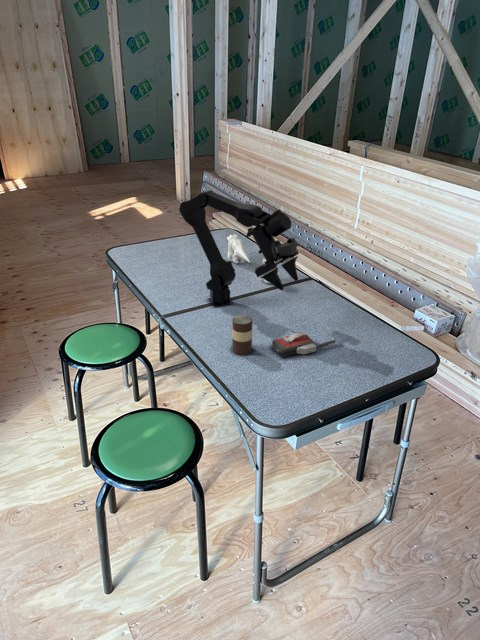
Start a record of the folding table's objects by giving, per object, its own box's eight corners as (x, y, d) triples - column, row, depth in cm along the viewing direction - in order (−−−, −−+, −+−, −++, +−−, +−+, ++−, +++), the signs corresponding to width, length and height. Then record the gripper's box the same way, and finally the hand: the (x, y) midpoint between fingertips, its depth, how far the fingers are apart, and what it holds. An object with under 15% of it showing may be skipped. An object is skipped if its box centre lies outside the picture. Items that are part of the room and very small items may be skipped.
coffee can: (236, 356, 147) (237, 325, 142) (229, 347, 152) (229, 316, 147) (255, 352, 149) (256, 322, 144) (246, 343, 154) (247, 313, 149)
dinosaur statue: (234, 252, 225) (234, 229, 220) (257, 271, 206) (258, 246, 201) (220, 254, 222) (220, 231, 217) (242, 273, 203) (243, 248, 198)
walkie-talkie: (282, 362, 145) (336, 346, 153) (283, 349, 143) (338, 334, 151) (267, 348, 152) (320, 334, 160) (268, 336, 150) (321, 322, 158)
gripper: (268, 239, 145) (294, 285, 146) (299, 224, 159) (322, 266, 160) (243, 255, 153) (268, 298, 154) (274, 239, 166) (296, 279, 167)
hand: (289, 285), depth 159 cm, fingers open, 9 cm apart
